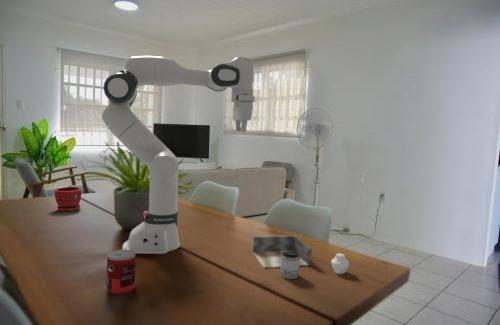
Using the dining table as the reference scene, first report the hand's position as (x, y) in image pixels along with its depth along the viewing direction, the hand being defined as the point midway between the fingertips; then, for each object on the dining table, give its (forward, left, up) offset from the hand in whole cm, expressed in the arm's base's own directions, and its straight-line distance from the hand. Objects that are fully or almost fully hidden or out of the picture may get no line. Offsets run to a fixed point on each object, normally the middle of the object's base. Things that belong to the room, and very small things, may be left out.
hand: (240, 131), depth 145 cm
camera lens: (+11, -35, -48) cm, 61 cm away
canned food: (-43, -37, -48) cm, 74 cm away
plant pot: (-82, +67, -48) cm, 116 cm away
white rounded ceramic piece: (+30, -35, -48) cm, 67 cm away
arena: (+13, -20, -48) cm, 54 cm away
